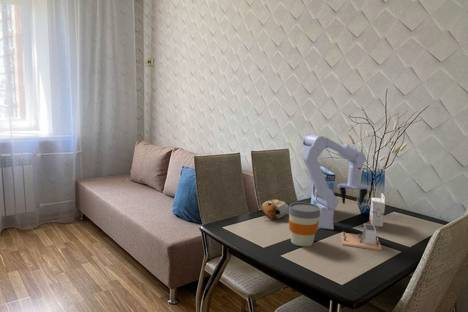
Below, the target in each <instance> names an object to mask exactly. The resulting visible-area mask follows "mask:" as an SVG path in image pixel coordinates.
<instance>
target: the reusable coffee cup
mask: <svg viewBox="0 0 468 312" xmlns="http://www.w3.org/2000/svg"><path fill="white" fill-rule="evenodd" d="M288 214H289V217H288V228H289V231H290V242H291V243H292V244H293V245H295V246H298V247H299V246H300V247H310V246H313V244H314V240H315V236H316V233H318V232H317V231H318V229H319V228H318V223H319V221H318V218H319V216H320V208H319V207H318V206H317V205H314V204H311V202H300V201H299V202H293V203H290V204H289V210H288Z"/></svg>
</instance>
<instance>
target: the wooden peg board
mask: <svg viewBox="0 0 468 312" xmlns="http://www.w3.org/2000/svg"><path fill="white" fill-rule="evenodd" d="M362 235H363V234H362V233H358V234H356V233H347V232H345V231H342V232H340V239H341V245H342V246H345V247H346V246H347V247H353V248H361V249H368V250H376V251H383V248H382V244H381V242H380V240H379V238H378V236H377V235H376V241H375V246H374V245H366V244H364V241H363V237H362Z"/></svg>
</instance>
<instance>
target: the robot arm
mask: <svg viewBox="0 0 468 312" xmlns="http://www.w3.org/2000/svg"><path fill="white" fill-rule="evenodd" d="M301 145H302V148H303V151H302V158H303V159H302V160H303V161H304V164H305V166H306V169H307V171H308V173H309V176H310V178H311V181H312V184H313V183H314V186H315V188H316V191H315V196H316V197H315V199H316V202H317V203H318V207H319V208H320V216H319V218H318V221H319V223H318V228H317V229H326V230H327V229H328V230H334V214H335V213H334V212H335V210H336V208H337V207H338V205H339V198H338V197H337V196H336V195H335V194H334V193H335V192H334V193H333V192H332V191H331V190H330V189H329V188H328V185H327V183H326V180H325V178H324V175H323V173H322V170H321V168H320V166H321V165H320V164H319V161H318V158H319V157H320V156H321V154H323V152H324V150H325V149H330V150H333V151H334V152H337V154H338V156H339V157H341V158H344V159H345V160H347V161H348V162H349V164H348V173H347V174H348V176H347V183H337V185H336V187H337V189H339V192H340V194H341V199H342V201H341V202H342V204H343V205H344V204H346V193H347V190H359V198H358V204H359V205H360V206H362V204H363V201H364V199H365V198H366V196H367V194H368V192H369V191H371V186H370V185H366V184H365V185H364V184H361V180H362V170H363V167H364V164H365V163H366V160H367V158H366V155H365V153H364V152H362V151H359V150H357V148H355V147H354V148H353V147H351V146H350V144H348V143H345V144H339V143H337V142H335V141H333V140H332V139H330V138H327V137H325V136H321V135H316V134H311V133H309V134H306V135H305V136H304V137H303V139H302V141H301Z"/></svg>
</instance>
